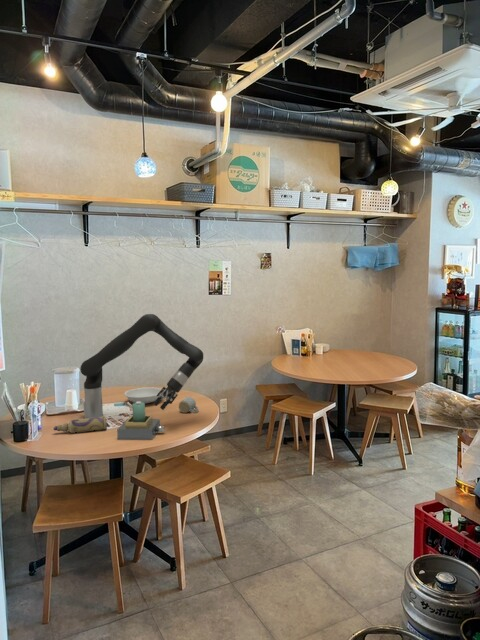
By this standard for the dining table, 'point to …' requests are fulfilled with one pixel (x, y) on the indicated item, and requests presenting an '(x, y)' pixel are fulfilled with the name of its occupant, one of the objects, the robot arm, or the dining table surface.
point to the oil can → (138, 411)
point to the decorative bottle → (83, 425)
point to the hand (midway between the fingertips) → (158, 406)
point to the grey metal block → (140, 429)
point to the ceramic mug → (188, 405)
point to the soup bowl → (142, 394)
